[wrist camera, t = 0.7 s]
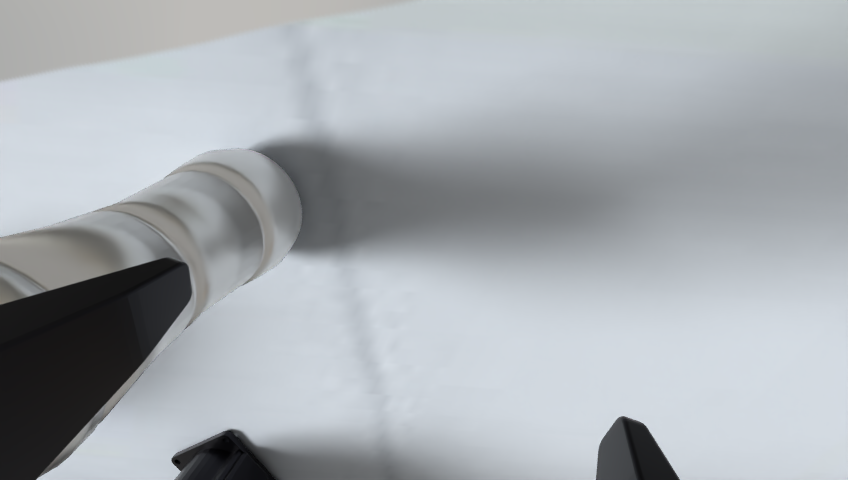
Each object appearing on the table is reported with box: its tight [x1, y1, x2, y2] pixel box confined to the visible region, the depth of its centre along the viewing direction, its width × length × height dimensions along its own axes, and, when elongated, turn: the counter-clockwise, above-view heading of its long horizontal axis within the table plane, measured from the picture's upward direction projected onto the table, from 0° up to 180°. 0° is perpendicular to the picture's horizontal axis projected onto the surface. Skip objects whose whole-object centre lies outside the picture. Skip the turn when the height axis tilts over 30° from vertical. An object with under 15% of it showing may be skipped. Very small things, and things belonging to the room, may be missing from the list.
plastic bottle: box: [0, 148, 302, 477], centre depth 16 cm, size 6×7×20 cm
